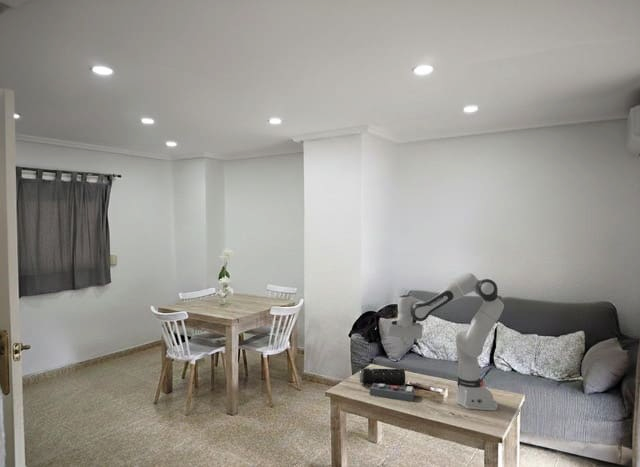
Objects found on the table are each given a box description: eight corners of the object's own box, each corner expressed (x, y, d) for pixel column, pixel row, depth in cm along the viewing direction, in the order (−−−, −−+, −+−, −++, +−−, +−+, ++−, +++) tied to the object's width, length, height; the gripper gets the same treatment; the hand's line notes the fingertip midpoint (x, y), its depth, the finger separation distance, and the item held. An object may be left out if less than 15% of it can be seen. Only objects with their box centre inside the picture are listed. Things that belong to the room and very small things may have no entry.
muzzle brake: (405, 388, 257) (405, 371, 257) (360, 387, 258) (360, 371, 257) (402, 382, 266) (402, 366, 266) (359, 382, 267) (359, 366, 267)
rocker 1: (385, 385, 249) (385, 384, 250) (383, 387, 245) (383, 385, 245) (379, 384, 251) (379, 383, 251) (377, 386, 246) (377, 384, 246)
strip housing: (414, 395, 245) (414, 388, 245) (412, 401, 237) (412, 394, 237) (373, 389, 254) (373, 382, 254) (369, 394, 246) (369, 388, 246)
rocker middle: (398, 387, 246) (398, 386, 246) (397, 388, 242) (397, 387, 242) (393, 387, 248) (393, 385, 248) (391, 388, 243) (391, 386, 243)
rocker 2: (412, 388, 243) (412, 386, 243) (411, 392, 239) (411, 391, 239) (407, 387, 245) (407, 385, 244) (405, 391, 240) (405, 390, 240)
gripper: (423, 322, 248) (423, 344, 248) (389, 319, 256) (389, 341, 256) (422, 324, 242) (422, 347, 242) (387, 321, 250) (387, 344, 250)
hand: (405, 344), depth 249 cm, fingers closed
